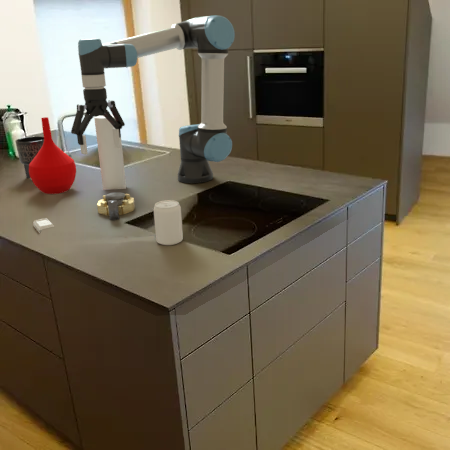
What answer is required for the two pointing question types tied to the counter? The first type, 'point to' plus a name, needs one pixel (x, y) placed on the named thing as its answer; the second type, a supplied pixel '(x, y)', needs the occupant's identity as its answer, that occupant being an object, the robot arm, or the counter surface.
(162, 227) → the beverage can
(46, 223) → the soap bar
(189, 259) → the counter surface
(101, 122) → the cylinder container
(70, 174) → the vase
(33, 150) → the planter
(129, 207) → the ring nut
